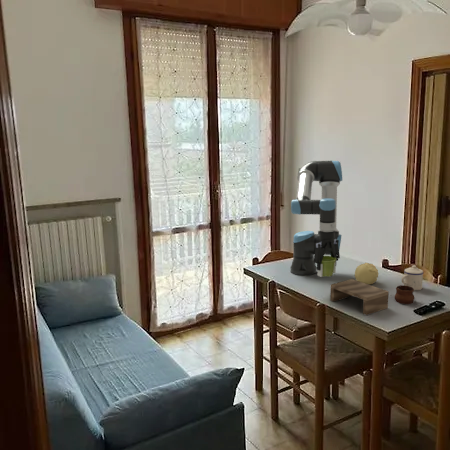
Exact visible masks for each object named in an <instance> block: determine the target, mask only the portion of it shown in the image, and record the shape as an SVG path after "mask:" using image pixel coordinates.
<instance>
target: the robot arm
mask: <svg viewBox="0 0 450 450" xmlns="http://www.w3.org/2000/svg"><path fill="white" fill-rule="evenodd" d="M296 177H297V178H296V179H297V181H298V183H297V191H296V197H295V198H296V199H292V200H291V201H290V207H291V208H290V209H291V214H293V215H319V230H317V233H315V232H314V231H313V230H303V231H299V232H296V233H295V234H294V235H293V241H292V243H293V251H292V252H293V253H292V254H293V257H292V258H293V259H292V260H291V261H292V262H291V265H290V268H289V269H290V272H291V273H292V274H294V275H298V276H299V275H300V276H309V275H314V274H316V273H317V275H316V276H318V277H321V278H323V276H322V271H323V264H321V263H322V260H323V257H324V256H331V257H334V258H336V261H335V263H334V269H333V274H336V267H337V261H339V259H341V257H340V256H341V255H340V249H341V242H342V234H340V231H339V230H338V229H337V210H338V209H337V207H338V205H337V202H338V201H337V200H338V199H337V198H338V186H339V185H340V184H341V182H343V171H342V165H341V161H339V160H311V161H310V162H307V163H305V164H304V165H303V166H302V167H300V168H299V170H298V172H297V176H296ZM313 182H318V184H319V186H320V187H321V198H320V199H312V190H313V189H312V187H313Z"/></svg>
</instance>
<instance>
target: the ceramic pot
mask: <svg viewBox="0 0 450 450" xmlns="http://www.w3.org/2000/svg"><path fill="white" fill-rule="evenodd" d="M395 291H396V292H395V294H394V300H395V302H396V303H398V304H400V305H401V304H402V305H411V304H414V302H415V295H414V292H415V290H414V289H413V288H412V287H410V286H404V284H400V285H397V286H396V287H395ZM390 296H392V294H391V295H390Z"/></svg>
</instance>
